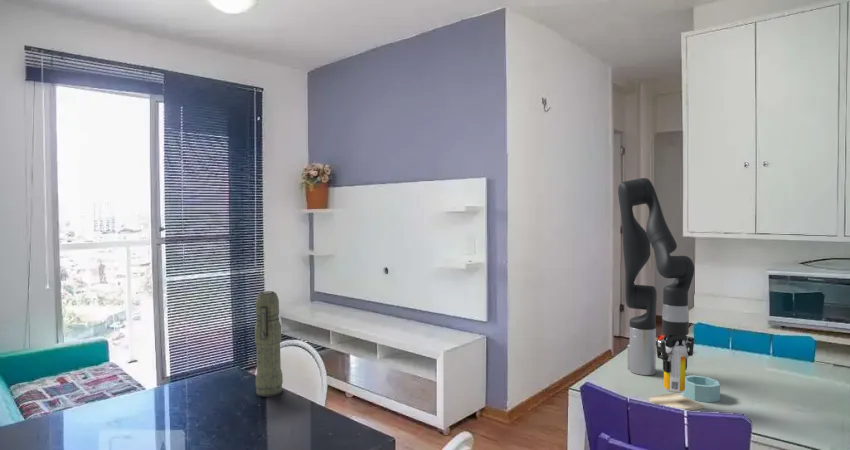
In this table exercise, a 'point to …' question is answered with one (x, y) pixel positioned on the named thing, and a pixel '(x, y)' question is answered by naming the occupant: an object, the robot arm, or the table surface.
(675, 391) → the beer can
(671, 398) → the birch board
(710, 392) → the can holder
